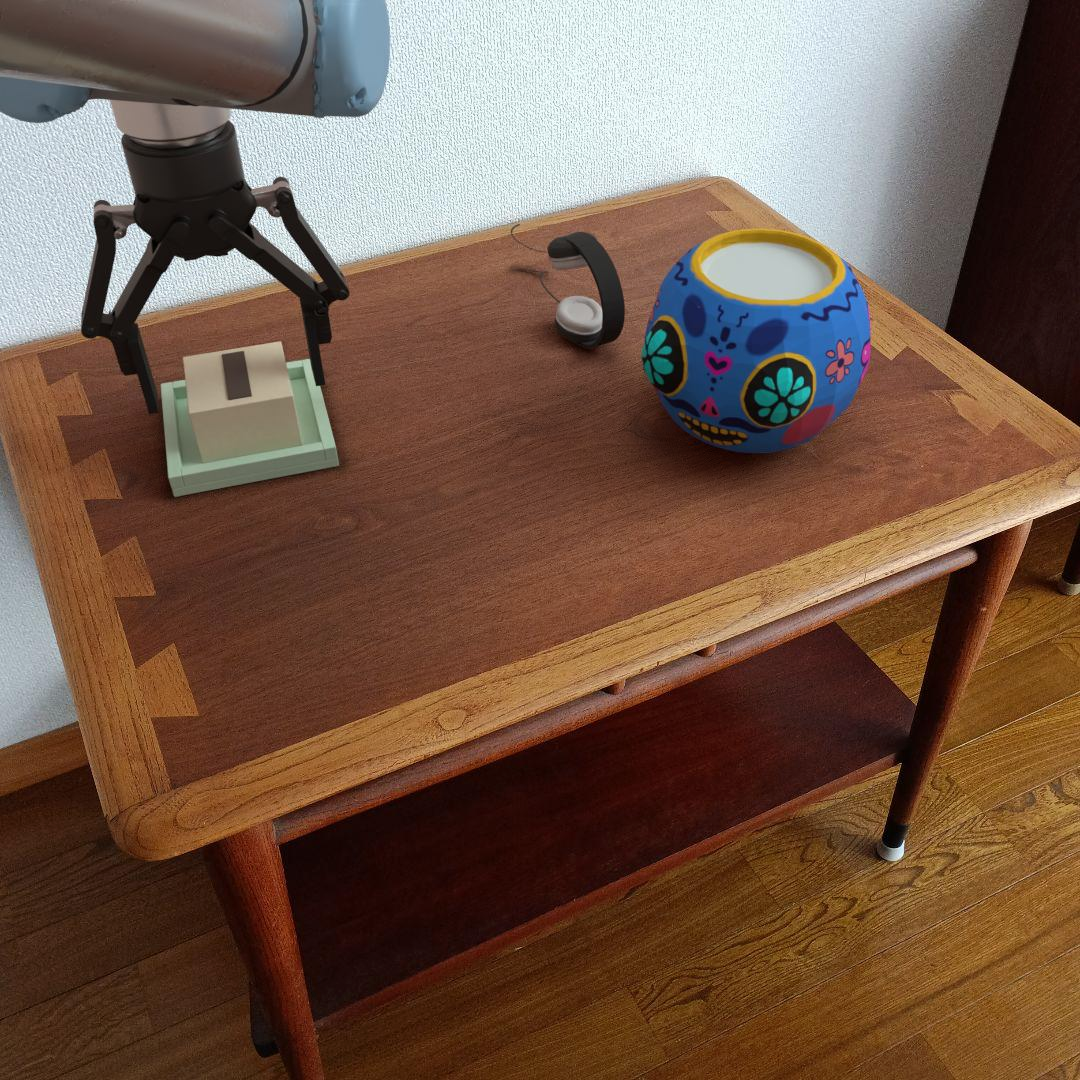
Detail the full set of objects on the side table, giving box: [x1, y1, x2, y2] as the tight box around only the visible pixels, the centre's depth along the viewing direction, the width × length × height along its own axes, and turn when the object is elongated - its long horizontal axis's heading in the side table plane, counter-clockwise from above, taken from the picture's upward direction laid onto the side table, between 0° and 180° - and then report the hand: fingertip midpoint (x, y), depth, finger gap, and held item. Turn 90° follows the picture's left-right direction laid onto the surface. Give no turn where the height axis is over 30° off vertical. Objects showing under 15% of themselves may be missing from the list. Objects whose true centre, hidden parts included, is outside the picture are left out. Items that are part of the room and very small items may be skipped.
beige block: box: [182, 340, 303, 463], centre depth 90 cm, size 8×8×5 cm
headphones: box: [510, 223, 626, 350], centre depth 102 cm, size 10×4×20 cm
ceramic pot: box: [641, 227, 872, 454], centre depth 88 cm, size 18×18×15 cm
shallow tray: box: [160, 358, 340, 498], centre depth 92 cm, size 13×13×2 cm
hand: (237, 390), depth 89 cm, fingers open, 12 cm apart
